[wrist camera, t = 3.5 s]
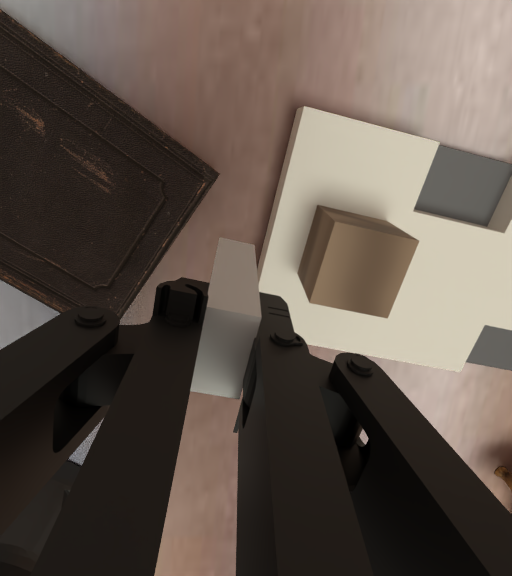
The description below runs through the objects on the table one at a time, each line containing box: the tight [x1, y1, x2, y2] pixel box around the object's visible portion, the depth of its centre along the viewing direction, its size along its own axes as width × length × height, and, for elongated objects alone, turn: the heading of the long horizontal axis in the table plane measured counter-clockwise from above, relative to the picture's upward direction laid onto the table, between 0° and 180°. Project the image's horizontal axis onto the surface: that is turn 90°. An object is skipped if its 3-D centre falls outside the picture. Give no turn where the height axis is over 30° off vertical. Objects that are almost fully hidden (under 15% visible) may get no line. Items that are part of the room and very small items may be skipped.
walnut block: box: [297, 205, 419, 319], centre depth 24 cm, size 5×5×5 cm
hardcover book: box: [0, 9, 220, 321], centre depth 26 cm, size 16×23×2 cm
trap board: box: [257, 106, 512, 372], centre depth 28 cm, size 32×16×4 cm, turn 77°
